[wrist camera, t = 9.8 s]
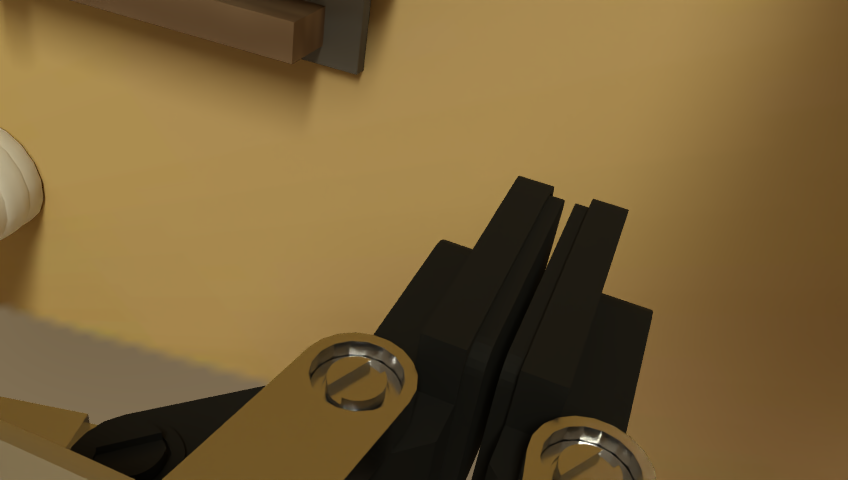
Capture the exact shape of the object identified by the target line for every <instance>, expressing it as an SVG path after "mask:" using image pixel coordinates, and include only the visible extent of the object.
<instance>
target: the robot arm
mask: <svg viewBox="0 0 848 480" xmlns="http://www.w3.org/2000/svg"><path fill="white" fill-rule="evenodd" d="M553 192H554V186H550V185H547V184H544V183H541V182H538V181H534V180H531V179H528V178H525V177H521V176H518V178H517V179H516V180H515V182H514V184H513V185H512V187H511V189H510V190H509V192H508V193H507V195H506V197H505V198H504V200H503V201H502V203H501V205H500V206H499V208H498V209H497V211H496V213H495V214H494V216H493V218H492V219H491V221H490V222H489V224H488V226H487V227H486V229H485V230H484V232H483V234H482V235H481V237H480V239H479V240H478V242H477V243H476V245H475V247H474V248H473V249H470V248H467V247H464V246H461V245H458V244H456V243H453V242H450V241H447V240H440V242H439V243H438V244H437V245H436V246H435V248H434V249H433V251H432V252H431V253H430V255H429V256H428V258H427V259H426V261H425V262H424V263H423V265H422V266H421V268H420V269H419V271H418V272H417V273H416V275H415V276H414V278H413V279H412V281H411V282H410V283H409V285H408V286H407V288H406V289H405V291H404V292H403V293H402V295H401V296H400V298H399V299H398V301H397V302H396V303H395V305H394V306H393V308H392V309H391V311H390V312H389V313H388V315H387V316H386V318H385V319H384V321H383V322H382V323H381V325H380V326H379V328H378V329H377V331H376V332H375V333H374V335H370V334H363V333H356V332H355V333H343V334H336V335H333V336H330V337H326V338H323V339H321V340H319V341H318V342H316V343H315V344H313V345H312V346H310V347H309V348H307V349H306V350H305V351H304V352H303V353H302V354H301V355H300V356H298V357H297V358H296V359H295V360H294V361H293V362H292V363H291V364H290V365H288V366H287V367H286V368H285V369H284V370H283V371H282V372H281V373H280V374H278V375H277V376H276V377H275V378H274V379H273V380H272V381H271V382H270V383H268V384H267V385H266V386H262V387H257V388H252V389H248V390H242V391H238V392H233V393H228V394H223V395H218V396H213V397H208V398H204V399H199V400H194V401H189V402H184V403H180V404H175V405H170V406H165V407H160V408H155V409H151V410H146V411H141V412H136V413H131V414H126V415H123V416H120V417H116V418H113V419H110V420H107V421H104V422H103V423H101V424H99V425H95V424H90V423H89V417H88V414H85V413H80V412H75V411H70V410H65V409H60V408H55V407H50V406H45V405H40V404H35V403H30V402H25V401H20V400H15V399H10V398H5V397H0V480H466V478H467V476H468V474H469V471H470V469H471V466H472V464H473V462H474V460H475V457H476V455H477V453H478V450H479V448H480V450H479V454H478V457H477V461H476V465H475V469H474V472H473V476H472V480H657V479H656V475H655V470H654V467H653V465H652V463H651V462H650V460H649V458H648V456H647V455H646V453H645V451H644V450H643V449H642V448H641V447H640V446H639V445H638V444H637V443H636V442H635V441H634V440H633V439H632V438H631V437H630V436H628V435H627V434H626V431H627V427H628V422H629V418H630V413H631V409H632V404H633V400H634V395H635V391H636V387H637V382H638V378H639V373H640V369H641V364H642V360H643V355H644V351H645V346H646V342H647V337H648V333H649V329H650V324H651V320H652V314H653V311H652V310H650V309H647V308H644V307H641V306H638V305H635V304H632V303H629V302H627V301H624V300H621V299H618V298H615V297H612V296H609V295H606V294H603V293H602V290H603V287H604V284H605V281H606V278H607V275H608V272H609V269H610V266H611V263H612V260H613V257H614V254H615V251H616V248H617V244H618V241H619V238H620V235H621V232H622V229H623V226H624V223H625V220H626V217H627V214H628V211H629V210H628V209H624V208H621V207H618V206H615V205H611V204H608V203H605V202H602V201H599V200H595V199H593V200H592V202H591V204H590V206H589V208H588V207H585V206H582V205H579V204H575V206H574V208H573V210H572V212H571V215H570V217H569V219H568V221H567V223H566V226H565V228H564V230H563V232H562V235H561V237H560V239H559V241H558V243H557V246H556V248H555V250H554V252H553V254H552V257H551V259H550V261H549V263H548V265H547V262H548V259H549V255H550V252H551V249H552V245H553V242H554V238H555V235H556V231H557V228H558V224H559V221H560V217H561V214H562V210H563V206H564V202H565V200H563V199H560V198H557V197H553ZM546 266H547V268H546ZM545 269H546V270H545Z"/></svg>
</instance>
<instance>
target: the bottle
mask: <svg viewBox="0 0 848 480" xmlns="http://www.w3.org/2000/svg"><path fill="white" fill-rule="evenodd" d="M42 202H43V191H42V183H41V179H40V176H39V174H38V171H37V169H36V166H35V164H34V162H33V161H32V159H31V158H30V156H29V155H28V153H27V152H26V151H25V149H24V148H23V146H22V145H21V144H20V143H19V142H17V141H16V140H15V139H14V138H13V137H12V136H11V135H10V134H9V133H8V132H6V131H5V130H3V129H1V128H0V240H2V239H4V238H6V237H7V236H9V235H11V234H12V233H14V232H15V231H17V230H18V229H19V228H20V227H21V226H22V225H24V224H26V223H27V222H29V221H31V220H32V219H33V218H34V217H35V216H36V215H37V214H38V213H39V212H40V209H41V206H42Z"/></svg>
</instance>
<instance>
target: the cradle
mask: <svg viewBox="0 0 848 480" xmlns="http://www.w3.org/2000/svg"><path fill="white" fill-rule="evenodd" d="M71 1H75V2H78V3H81V4H85V5H88V6H92V7H95V8H99V9H102V10H106V11H109V12H113V13H116V14H120V15H123V16H127V17H130V18H133V19H137V20H140V21H144V22H147V23H151V24H154V25H158V26H161V27H165V28H168V29H172V30H175V31H178V32H182V33H185V34H189V35H192V36H196V37H199V38H203V39H206V40H210V41H213V42H217V43H220V44H223V45H227V46H230V47H234V48H237V49H241V50H244V51H248V52H251V53H255V54H258V55H262V56H265V57H269V58H272V59H275V60H279V61H282V62H286V63H289V64H293V63H295V62H296V61H298V60H300V59H303V60H307V61H310V62H314V63H317V64H321V65H324V66H328V67H331V68H335V69H338V70H342V71H345V72H349V73H352V74H356V75H357V74H359V73H360V72H361V71H363V68H364V59H365V50H366V41H367V31H368V22H369V13H370V4H371V0H71Z"/></svg>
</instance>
